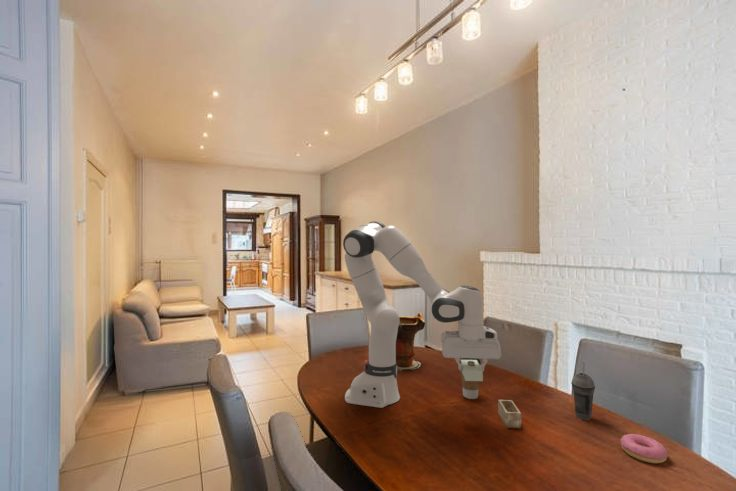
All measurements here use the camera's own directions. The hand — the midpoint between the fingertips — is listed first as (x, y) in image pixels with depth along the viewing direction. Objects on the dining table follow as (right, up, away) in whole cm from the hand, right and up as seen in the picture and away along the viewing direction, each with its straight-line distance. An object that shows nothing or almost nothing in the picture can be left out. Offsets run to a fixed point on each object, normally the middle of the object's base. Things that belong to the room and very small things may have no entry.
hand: (471, 370), depth 122 cm
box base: (+13, -17, -1) cm, 22 cm away
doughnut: (+44, -18, -21) cm, 52 cm away
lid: (0, -2, 0) cm, 2 cm away
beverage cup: (+40, -17, +1) cm, 44 cm away
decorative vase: (-19, -18, +57) cm, 62 cm away
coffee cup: (+5, -18, +19) cm, 26 cm away
